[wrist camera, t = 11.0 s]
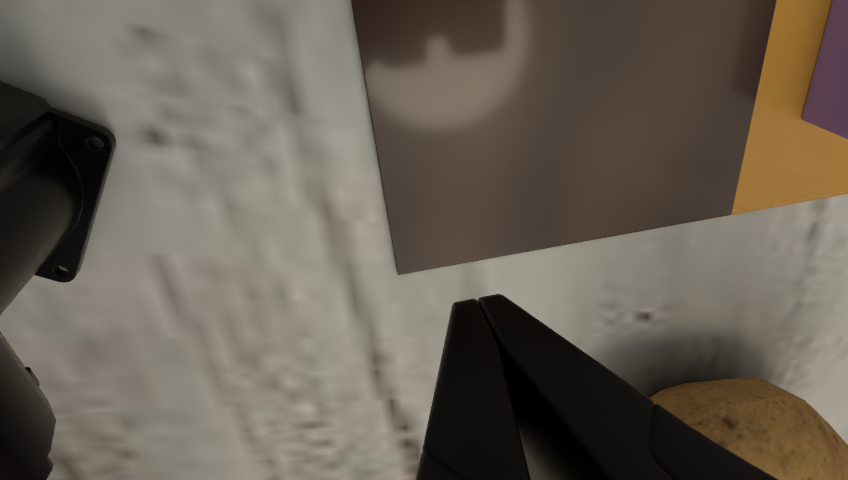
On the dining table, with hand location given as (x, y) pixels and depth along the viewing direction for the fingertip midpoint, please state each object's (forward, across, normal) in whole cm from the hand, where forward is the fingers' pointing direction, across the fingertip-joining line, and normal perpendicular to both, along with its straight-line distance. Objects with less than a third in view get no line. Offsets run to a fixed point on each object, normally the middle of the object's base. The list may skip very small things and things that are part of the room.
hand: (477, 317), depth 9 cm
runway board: (+12, -6, 0) cm, 14 cm away
